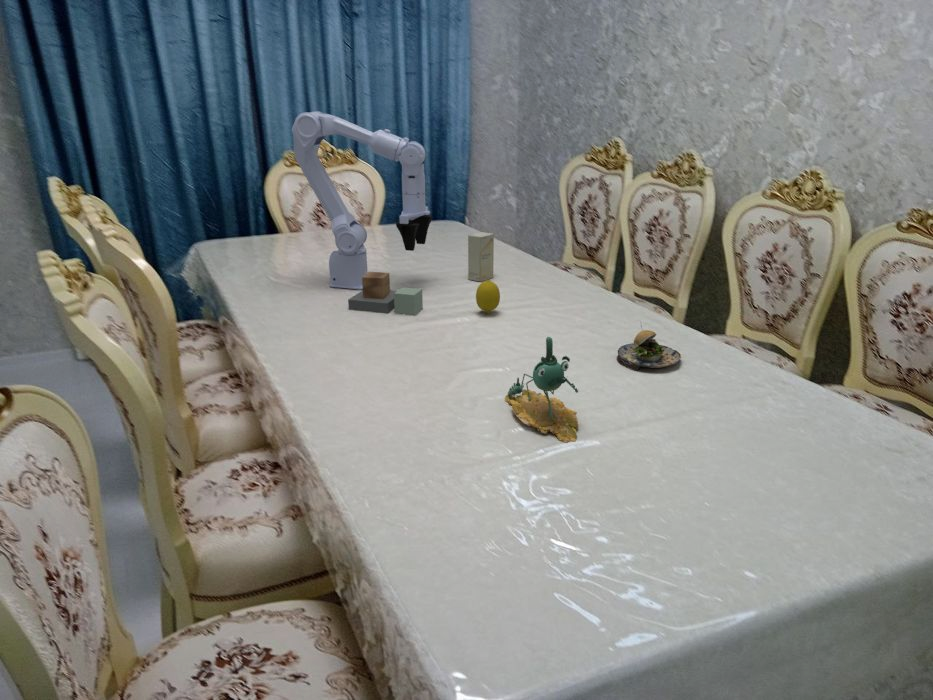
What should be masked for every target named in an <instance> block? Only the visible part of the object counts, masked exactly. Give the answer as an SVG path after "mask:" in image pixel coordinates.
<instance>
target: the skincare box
mask: <svg viewBox="0 0 933 700" xmlns="http://www.w3.org/2000/svg"><path fill="white" fill-rule="evenodd" d="M494 235H495V234H494V233H491V232H484V231H480V232H476V233H473V234H472V233H471V234H468V236H467V241H468V243H467V244H468V246H467V248H468V250H467V252H468V253H467V255H468V256H467V257H468V260H467V262H468V263H467V264H468V265H467V269H468V273H467V274H468V275H467V278H468V280H470V281H473V282H481V283H482V282H485V281H486V280H490V279H492V278H494V244H495V243H494V241H495V238H494V237H495V236H494Z"/></svg>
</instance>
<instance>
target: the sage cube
mask: <svg viewBox="0 0 933 700" xmlns="http://www.w3.org/2000/svg"><path fill="white" fill-rule="evenodd" d="M395 291H396V292H395V293H394V308H395V309H394V314H395V315H403V314H405V316H412V315H413V316H417V315H418V314H419V313H420V312H421V311H422V310H423V309H424V306H423V305H424V304H423V288H415V287H413V288H412V287H405V286H402V287H401V288H399V289H398V290H395Z"/></svg>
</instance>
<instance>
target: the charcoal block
mask: <svg viewBox="0 0 933 700" xmlns="http://www.w3.org/2000/svg"><path fill="white" fill-rule="evenodd" d="M396 291H397V290H392V289H390V294H389V295H387V296H386V297H385V298H384V299H375V298H363V290H361V291H359V292H358V293H356V294H355V295H354V296H352V297H350V298H348V299H347V303H348V310H349V311H356V312H357V311H358V312H367V313H369V312H370V313H378V314H386V315H387V314H389V313H391V312H392V311H394V310H395V308H394V293H395V292H396Z"/></svg>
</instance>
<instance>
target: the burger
mask: <svg viewBox="0 0 933 700" xmlns="http://www.w3.org/2000/svg"><path fill="white" fill-rule="evenodd" d="M640 323H642V322H641V321H640ZM640 326H641V328H643V325H642V324H640ZM641 330H642V331H640V332H638V333H637V334H636V336H635V337H634V339H633V342H632V343H627V344H623V345H622V346H620V347H619V348H618V350H617V356H616V361H617V363H618V364H619V365H620V366H622V367H625V368H626V369H630V370H632V371H636V372H637V370H638V369H639V368H640V367H642V368H651V369H660V368H661V369H662V368H665V367H670V366H672V365H674V364H676V363H678V362H680V359H681V358H682V355H681V353H680V352H678V350H675V349H673V348H671V347H669V346H666V345H663V344H659V343H658V341H657V339H656V338H655V337H656V336H657V333H656V332H654V331H653V330H649V329H646V330H643V329H641Z"/></svg>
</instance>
